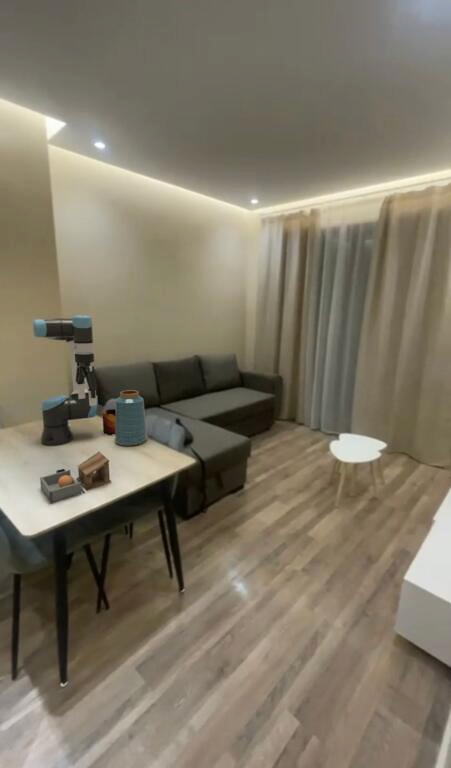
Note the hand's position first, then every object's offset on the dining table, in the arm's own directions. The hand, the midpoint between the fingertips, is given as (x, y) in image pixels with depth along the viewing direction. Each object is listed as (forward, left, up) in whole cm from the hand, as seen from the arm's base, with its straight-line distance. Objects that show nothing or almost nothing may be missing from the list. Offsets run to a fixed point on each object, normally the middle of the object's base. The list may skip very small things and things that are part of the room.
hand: (87, 401), depth 149 cm
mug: (-32, +26, -29) cm, 51 cm away
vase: (-14, +26, -29) cm, 41 cm away
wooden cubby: (+17, -5, -29) cm, 34 cm away
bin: (+17, -18, -29) cm, 38 cm away
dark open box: (+5, -14, -29) cm, 32 cm away
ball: (+17, -16, -25) cm, 35 cm away
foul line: (+17, -11, -29) cm, 35 cm away
